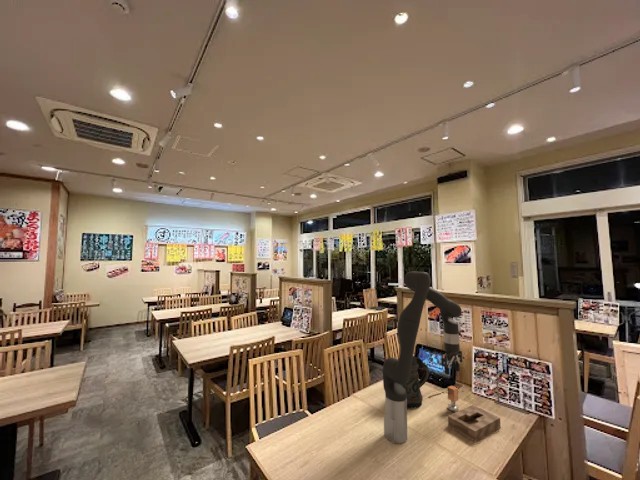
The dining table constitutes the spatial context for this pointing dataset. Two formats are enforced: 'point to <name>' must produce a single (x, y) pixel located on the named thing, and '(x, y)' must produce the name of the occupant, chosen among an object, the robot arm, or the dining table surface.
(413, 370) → the beer stein
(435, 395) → the axe
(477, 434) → the keyhole plate
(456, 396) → the t peg
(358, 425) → the dining table surface
